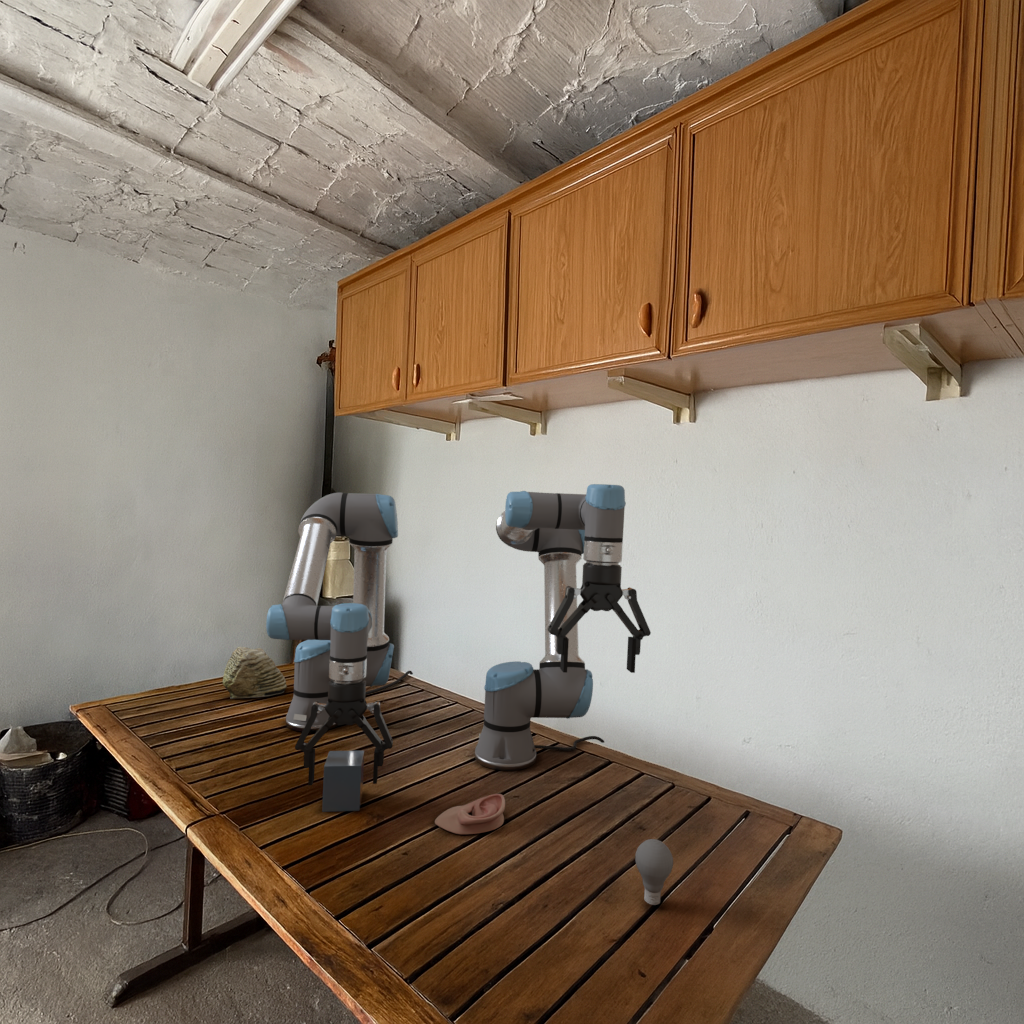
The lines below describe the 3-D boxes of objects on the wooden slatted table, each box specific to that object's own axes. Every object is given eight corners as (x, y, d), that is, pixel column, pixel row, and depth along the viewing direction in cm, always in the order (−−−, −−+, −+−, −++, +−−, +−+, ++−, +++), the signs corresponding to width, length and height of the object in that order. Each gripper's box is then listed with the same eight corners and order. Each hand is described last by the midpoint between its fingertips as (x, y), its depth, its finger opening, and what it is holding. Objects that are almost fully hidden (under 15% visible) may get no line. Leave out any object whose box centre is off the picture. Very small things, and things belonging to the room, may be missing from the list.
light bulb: (629, 891, 105) (631, 831, 105) (664, 890, 106) (667, 831, 106) (639, 914, 99) (642, 851, 99) (676, 914, 100) (679, 851, 100)
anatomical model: (430, 809, 122) (447, 784, 133) (429, 830, 122) (447, 802, 133) (497, 819, 119) (509, 792, 130) (496, 840, 119) (508, 811, 131)
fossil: (218, 695, 195) (220, 647, 195) (278, 685, 208) (279, 640, 207) (228, 703, 189) (230, 653, 188) (289, 692, 201) (290, 645, 201)
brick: (322, 812, 127) (324, 766, 127) (327, 794, 135) (329, 750, 135) (359, 810, 129) (361, 765, 128) (362, 793, 136) (364, 750, 136)
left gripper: (282, 684, 126) (278, 791, 126) (406, 684, 130) (402, 788, 130) (289, 673, 133) (286, 775, 134) (407, 674, 137) (403, 772, 137)
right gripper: (543, 563, 119) (538, 675, 119) (670, 566, 122) (665, 676, 123) (536, 559, 126) (531, 665, 126) (656, 562, 130) (651, 665, 130)
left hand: (343, 781), depth 132 cm, fingers open, 12 cm apart
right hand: (597, 670), depth 124 cm, fingers open, 13 cm apart
